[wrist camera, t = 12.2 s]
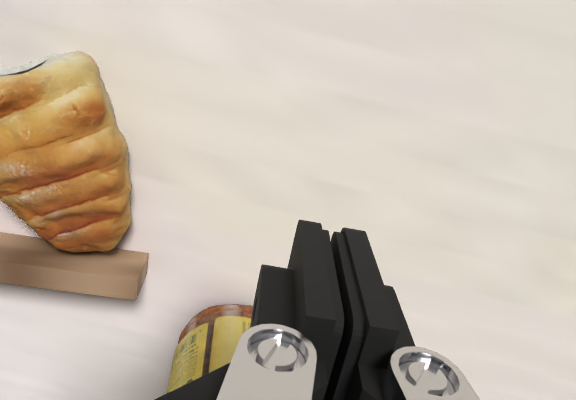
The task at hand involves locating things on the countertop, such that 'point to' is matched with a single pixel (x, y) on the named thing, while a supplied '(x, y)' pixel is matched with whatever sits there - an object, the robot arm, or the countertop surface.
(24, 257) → the open wooden frame
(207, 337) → the sauce bottle
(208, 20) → the countertop surface
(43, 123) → the pastry
